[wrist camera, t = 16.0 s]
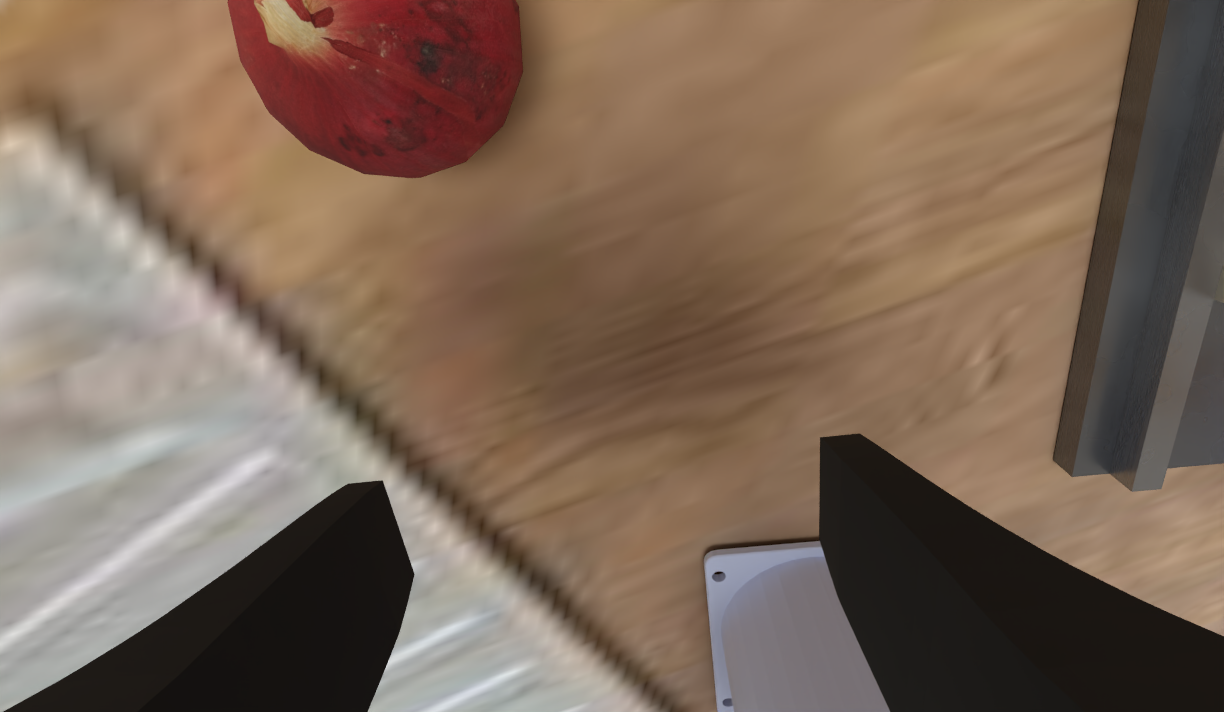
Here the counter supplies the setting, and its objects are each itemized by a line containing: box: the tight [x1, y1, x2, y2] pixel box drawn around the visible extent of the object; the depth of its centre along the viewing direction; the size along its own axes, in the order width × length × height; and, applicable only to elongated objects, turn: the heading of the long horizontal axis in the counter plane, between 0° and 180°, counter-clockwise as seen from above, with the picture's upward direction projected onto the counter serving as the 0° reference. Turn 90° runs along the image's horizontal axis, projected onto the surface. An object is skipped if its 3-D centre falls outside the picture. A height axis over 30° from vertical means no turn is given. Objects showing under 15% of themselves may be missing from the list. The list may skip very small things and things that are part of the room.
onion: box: [228, 0, 523, 178], centre depth 13 cm, size 6×6×8 cm
